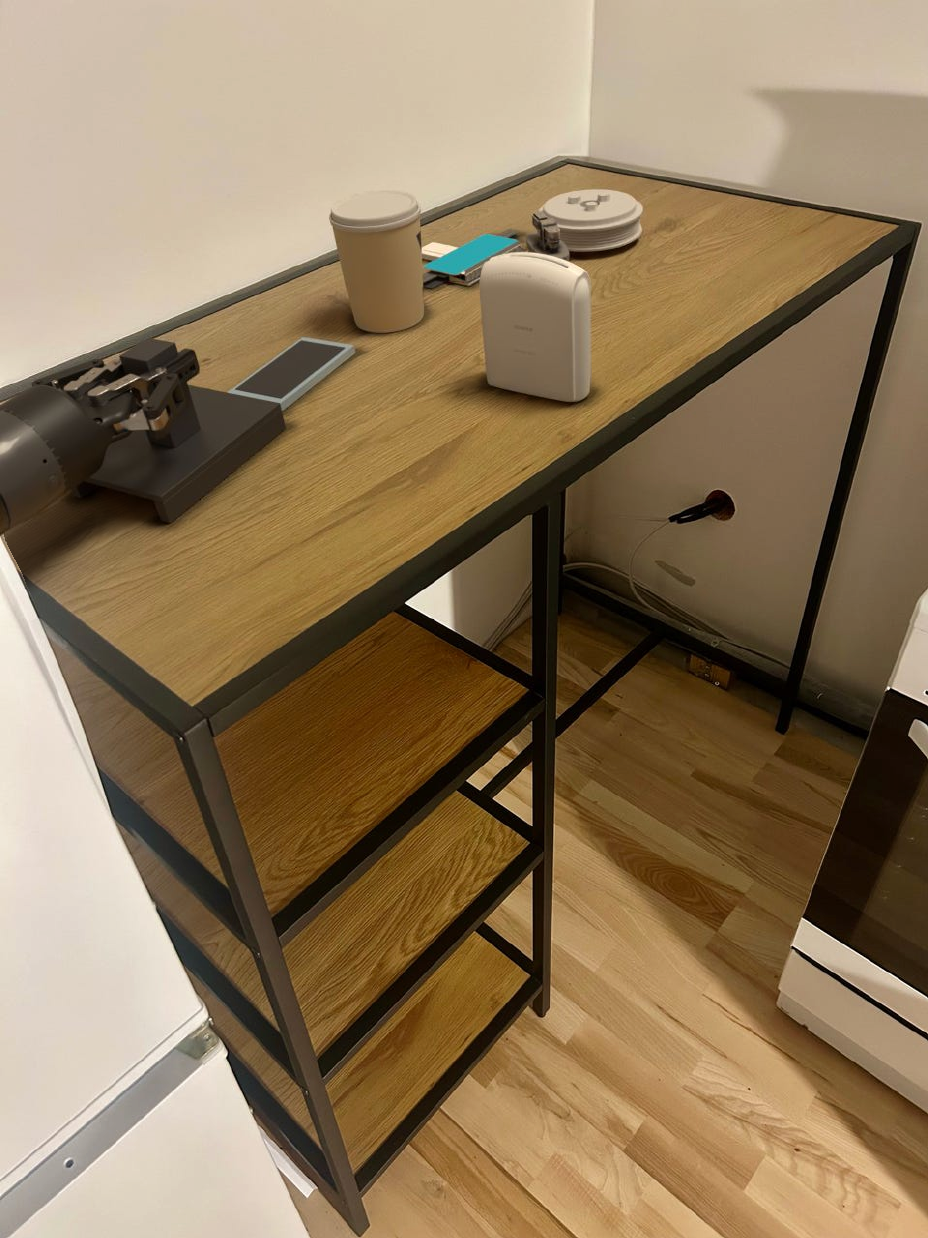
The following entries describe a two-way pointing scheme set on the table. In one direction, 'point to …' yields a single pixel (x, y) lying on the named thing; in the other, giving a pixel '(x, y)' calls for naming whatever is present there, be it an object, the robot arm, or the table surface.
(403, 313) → the coffee cup
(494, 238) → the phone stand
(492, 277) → the photo printer
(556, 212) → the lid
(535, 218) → the lighter
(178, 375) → the robot arm
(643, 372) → the table surface
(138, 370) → the cover
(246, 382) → the phone
